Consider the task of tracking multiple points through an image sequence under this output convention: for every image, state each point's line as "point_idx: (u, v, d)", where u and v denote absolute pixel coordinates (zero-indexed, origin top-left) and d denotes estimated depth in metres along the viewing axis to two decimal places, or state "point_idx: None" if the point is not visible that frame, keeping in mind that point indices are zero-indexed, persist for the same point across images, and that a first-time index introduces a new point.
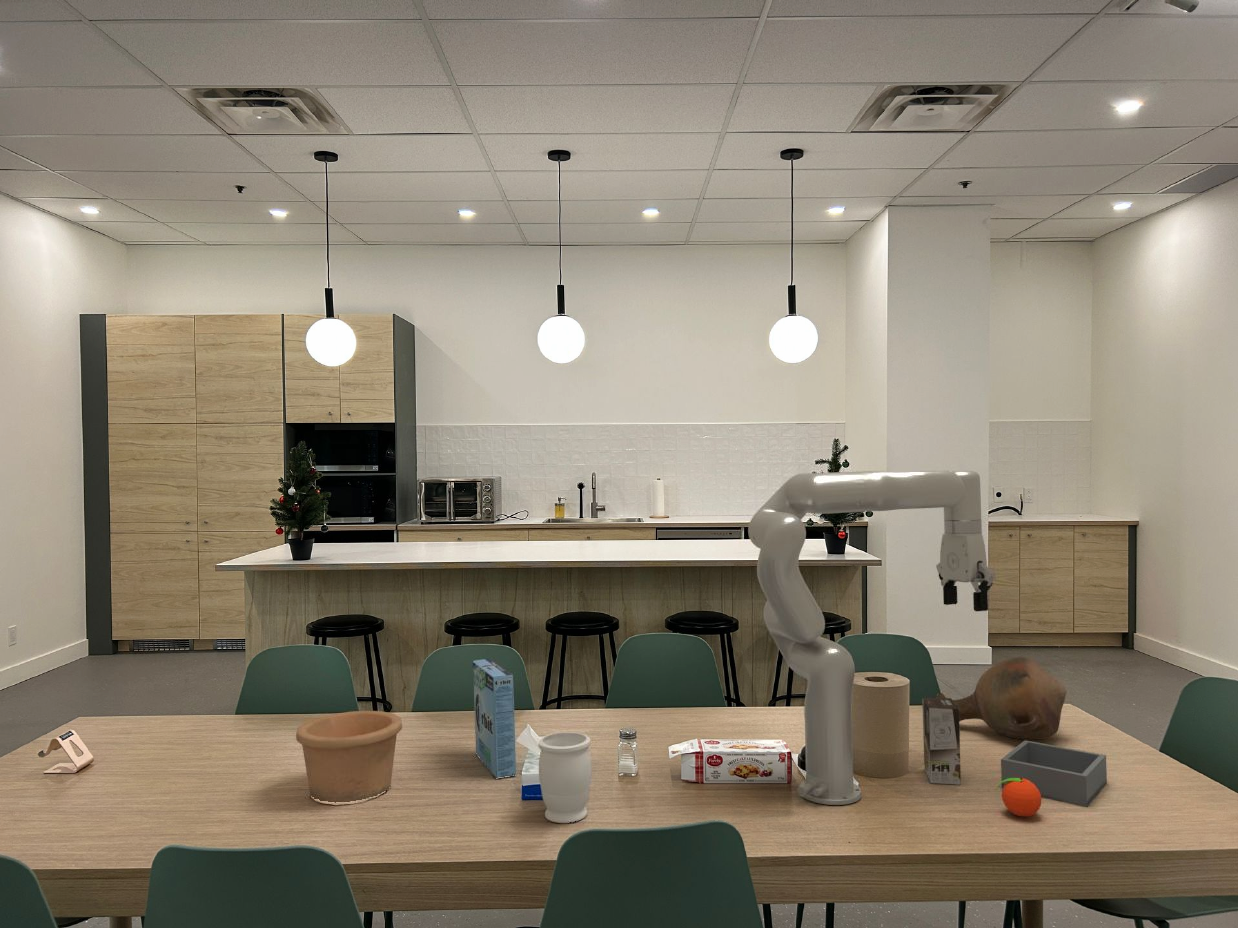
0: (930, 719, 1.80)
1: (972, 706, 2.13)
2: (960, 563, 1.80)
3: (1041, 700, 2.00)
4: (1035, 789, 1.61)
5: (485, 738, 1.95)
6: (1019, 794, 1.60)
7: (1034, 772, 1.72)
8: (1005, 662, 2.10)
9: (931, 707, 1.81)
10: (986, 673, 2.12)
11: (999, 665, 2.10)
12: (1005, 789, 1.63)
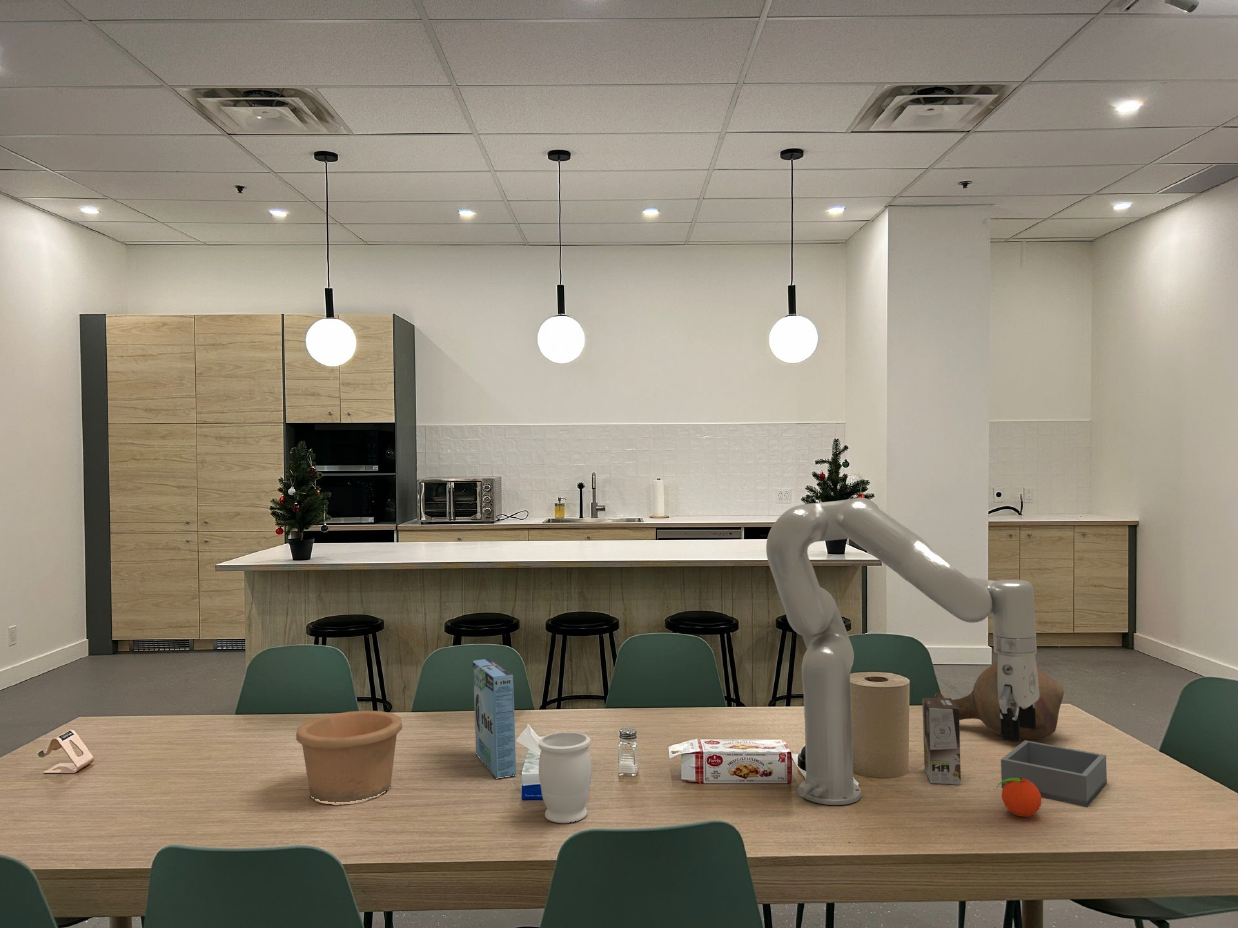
0: (930, 719, 1.80)
1: (970, 705, 2.13)
2: (1035, 681, 1.63)
3: (1038, 700, 2.00)
4: (1035, 789, 1.61)
5: (485, 738, 1.95)
6: (1019, 794, 1.60)
7: (1034, 772, 1.72)
8: None
9: (931, 707, 1.81)
10: (984, 673, 2.12)
11: (997, 665, 2.11)
12: (1005, 789, 1.63)
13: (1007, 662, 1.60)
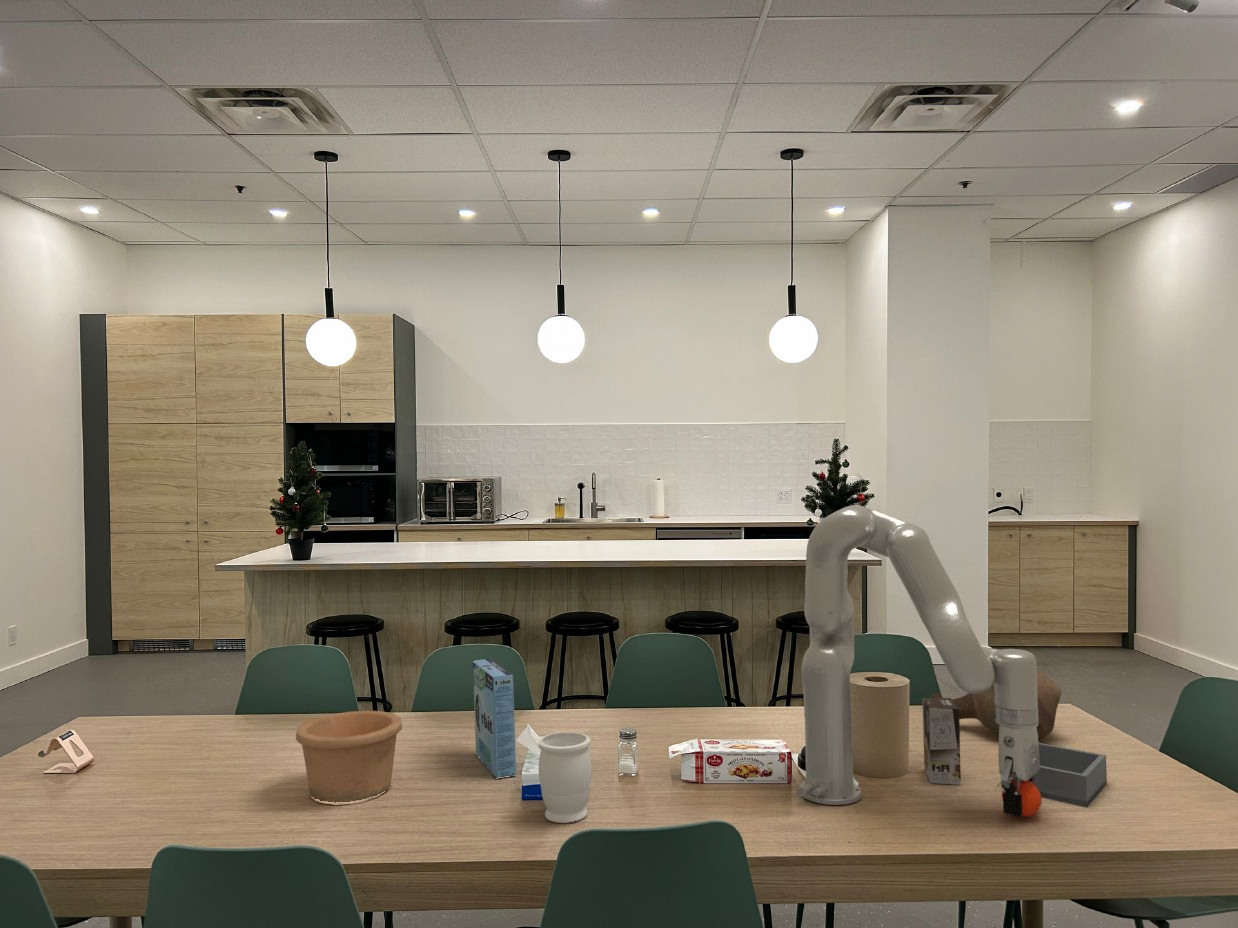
0: (930, 719, 1.80)
1: (967, 705, 2.13)
2: (1036, 752, 1.63)
3: None
4: (1035, 789, 1.61)
5: (485, 738, 1.95)
6: None
7: None
8: None
9: (931, 707, 1.81)
10: None
11: None
12: None
13: (1008, 734, 1.60)
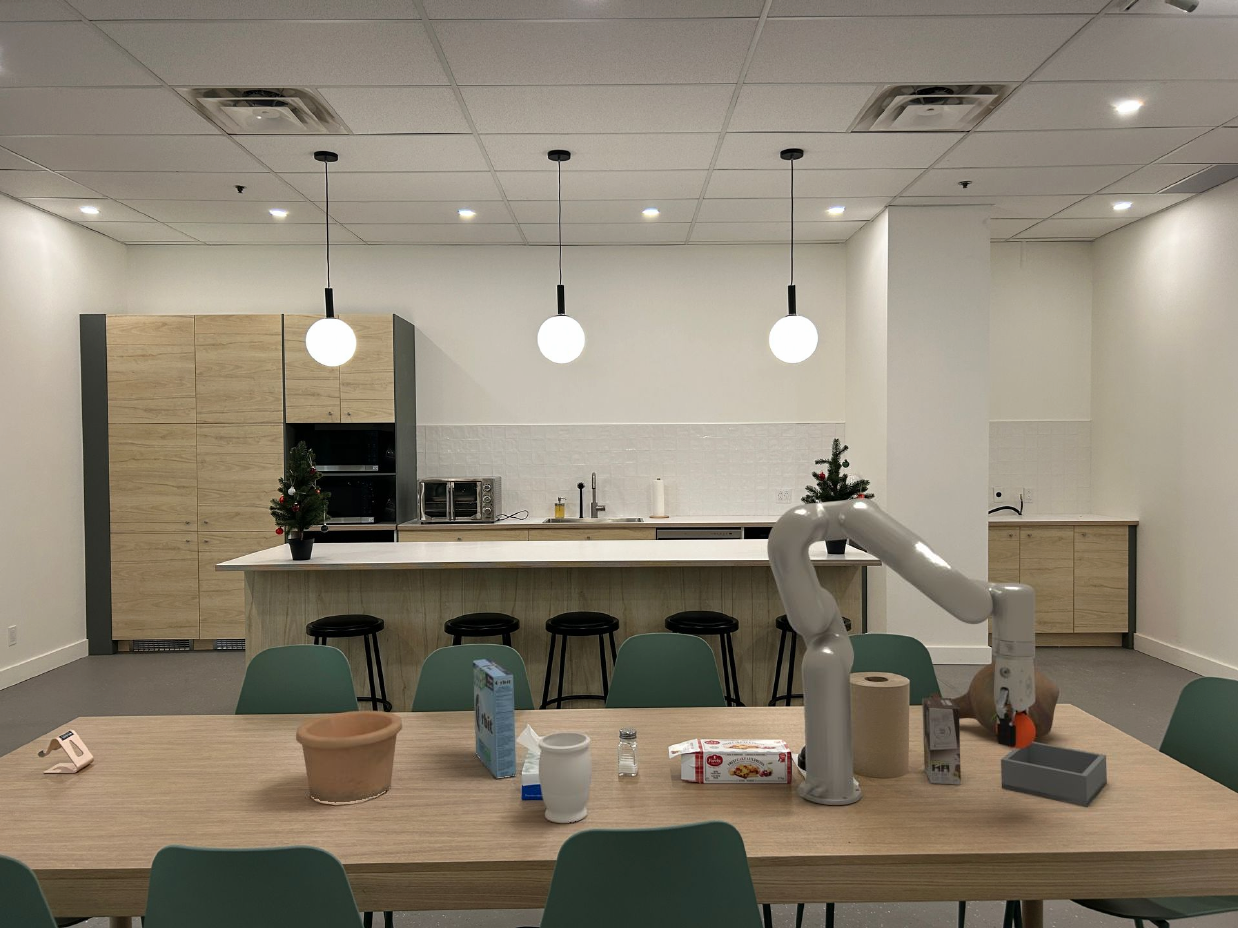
0: (930, 719, 1.80)
1: (965, 705, 2.14)
2: (1032, 685, 1.63)
3: None
4: (1030, 721, 1.61)
5: (485, 738, 1.95)
6: None
7: (1034, 772, 1.72)
8: None
9: (931, 707, 1.81)
10: (979, 673, 2.12)
11: (992, 665, 2.11)
12: None
13: (1005, 665, 1.60)
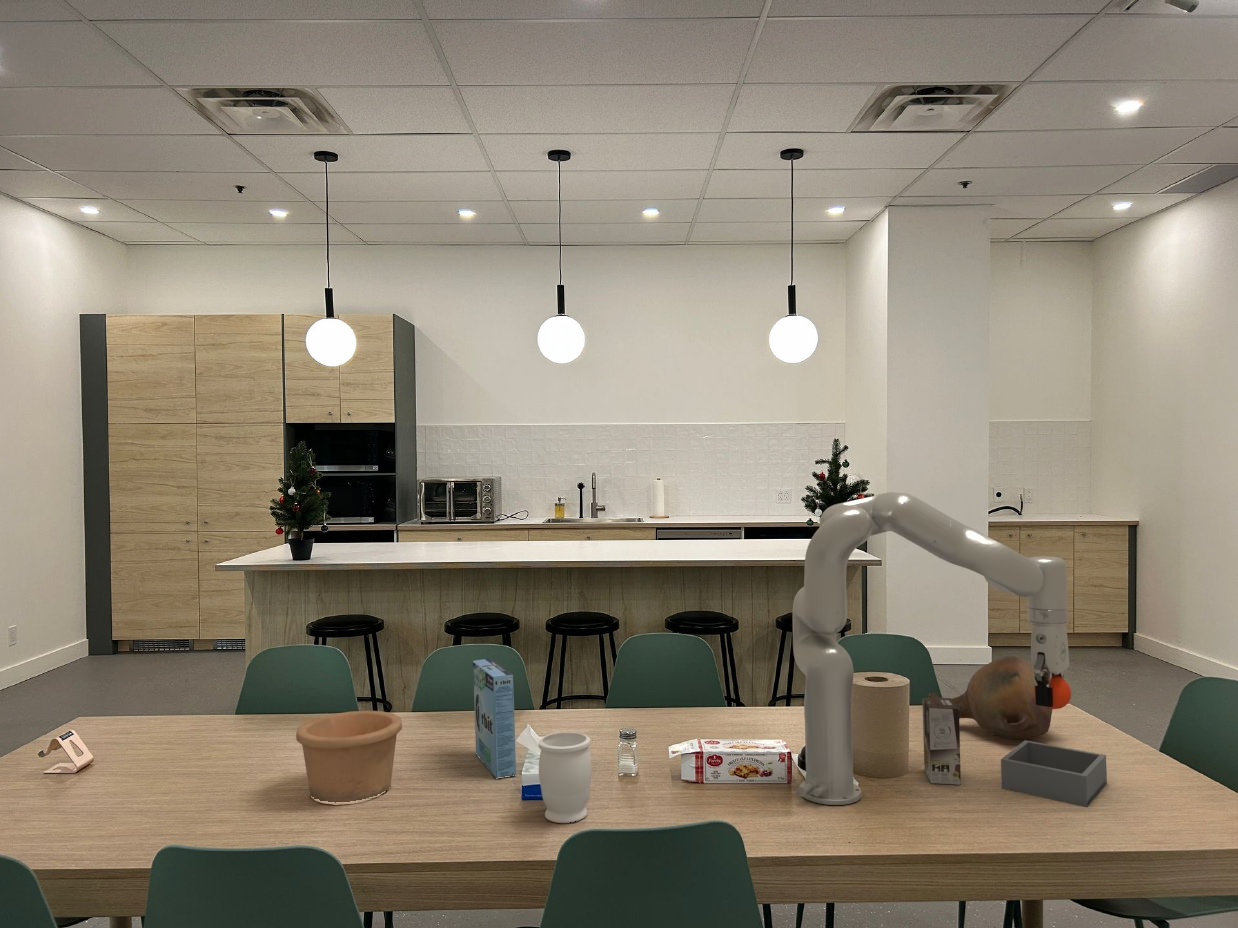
0: (930, 719, 1.80)
1: (963, 705, 2.14)
2: (1066, 650, 1.76)
3: (1031, 699, 2.01)
4: (1065, 683, 1.74)
5: (485, 738, 1.95)
6: None
7: (1034, 772, 1.72)
8: (996, 662, 2.11)
9: (931, 707, 1.81)
10: (977, 672, 2.13)
11: (990, 665, 2.11)
12: None
13: (1040, 631, 1.73)
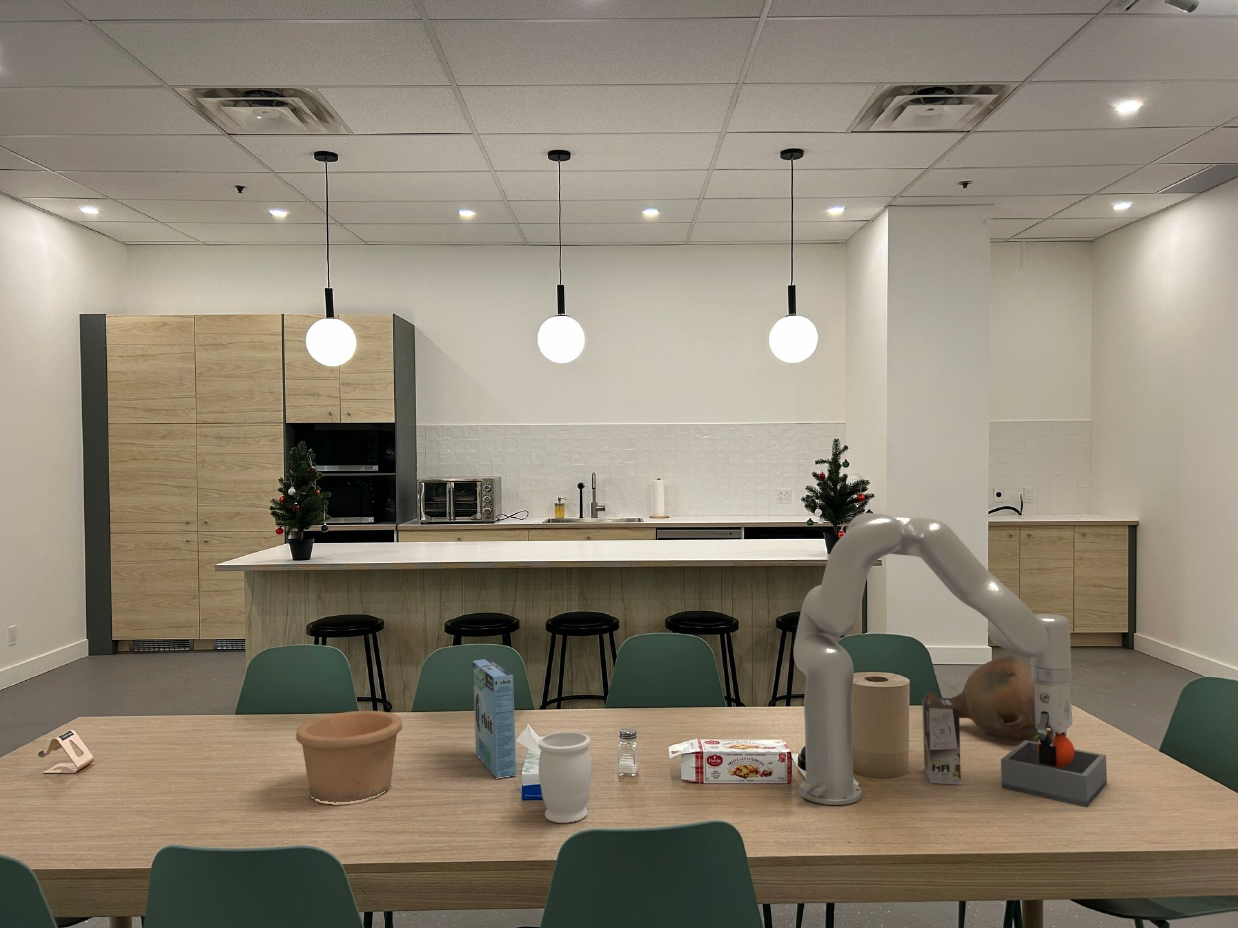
0: (930, 719, 1.80)
1: (960, 705, 2.14)
2: (1069, 708, 1.77)
3: (1027, 699, 2.01)
4: (1069, 742, 1.75)
5: (485, 738, 1.95)
6: None
7: (1034, 772, 1.72)
8: (993, 662, 2.11)
9: (931, 707, 1.81)
10: (974, 672, 2.13)
11: (987, 664, 2.11)
12: None
13: (1044, 691, 1.74)
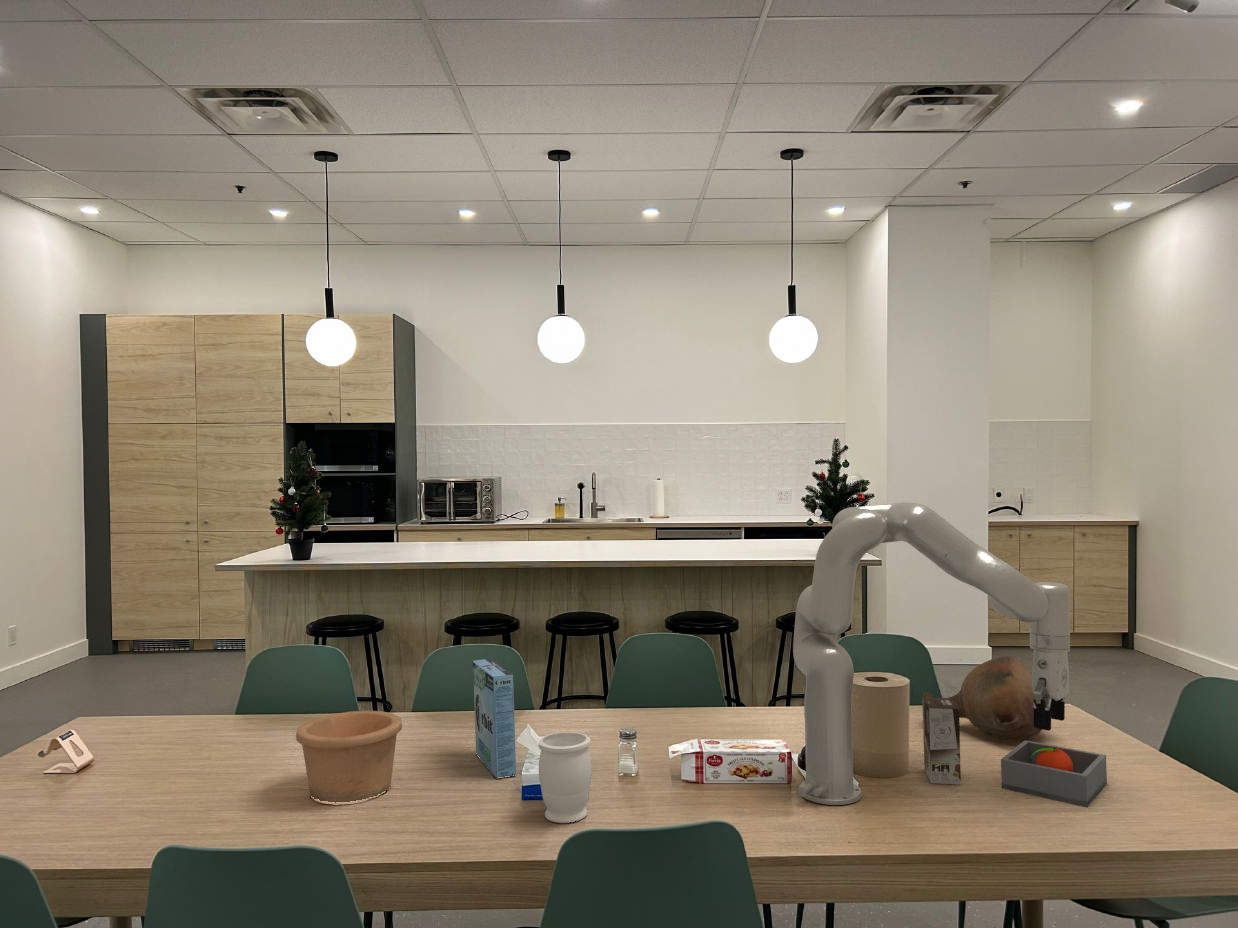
0: (930, 719, 1.80)
1: (957, 704, 2.14)
2: (1067, 676, 1.77)
3: (1024, 699, 2.01)
4: (1068, 757, 1.75)
5: (485, 738, 1.95)
6: (1053, 762, 1.74)
7: (1034, 772, 1.72)
8: (990, 661, 2.11)
9: (931, 707, 1.81)
10: (971, 672, 2.13)
11: (984, 664, 2.11)
12: (1040, 758, 1.76)
13: (1042, 657, 1.74)
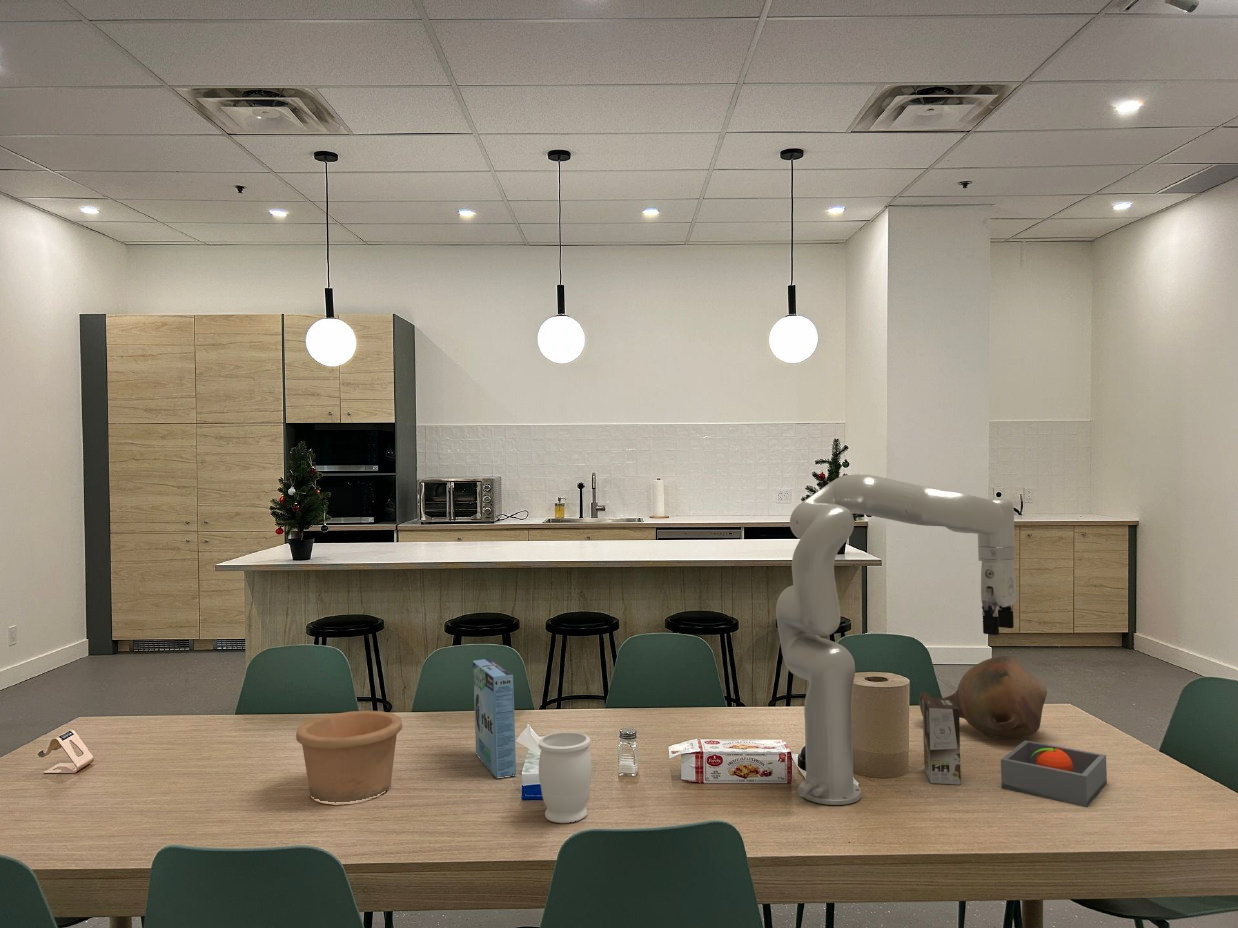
0: (930, 719, 1.80)
1: None
2: (1013, 586, 1.89)
3: (1020, 699, 2.01)
4: (1067, 757, 1.75)
5: (485, 738, 1.95)
6: (1053, 762, 1.74)
7: (1034, 772, 1.72)
8: (986, 661, 2.11)
9: (931, 707, 1.81)
10: (968, 672, 2.13)
11: (981, 664, 2.12)
12: (1040, 758, 1.76)
13: (989, 567, 1.86)
